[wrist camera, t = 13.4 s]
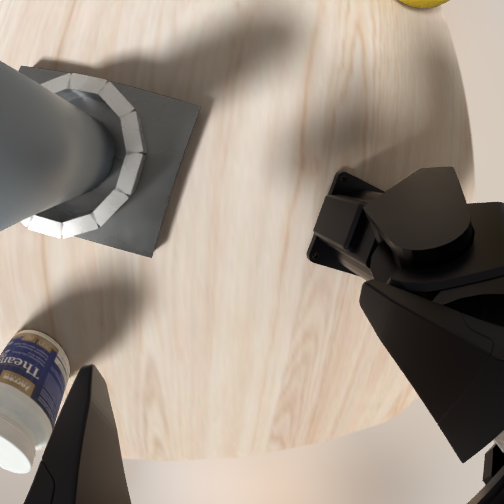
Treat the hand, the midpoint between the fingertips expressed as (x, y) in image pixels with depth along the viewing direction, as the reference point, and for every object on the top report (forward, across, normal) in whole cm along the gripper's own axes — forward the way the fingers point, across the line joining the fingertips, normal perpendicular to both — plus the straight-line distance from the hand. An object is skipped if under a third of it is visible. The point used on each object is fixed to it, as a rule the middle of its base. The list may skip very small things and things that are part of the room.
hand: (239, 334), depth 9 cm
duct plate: (+13, +5, -4) cm, 14 cm away
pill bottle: (+10, +13, +9) cm, 19 cm away
